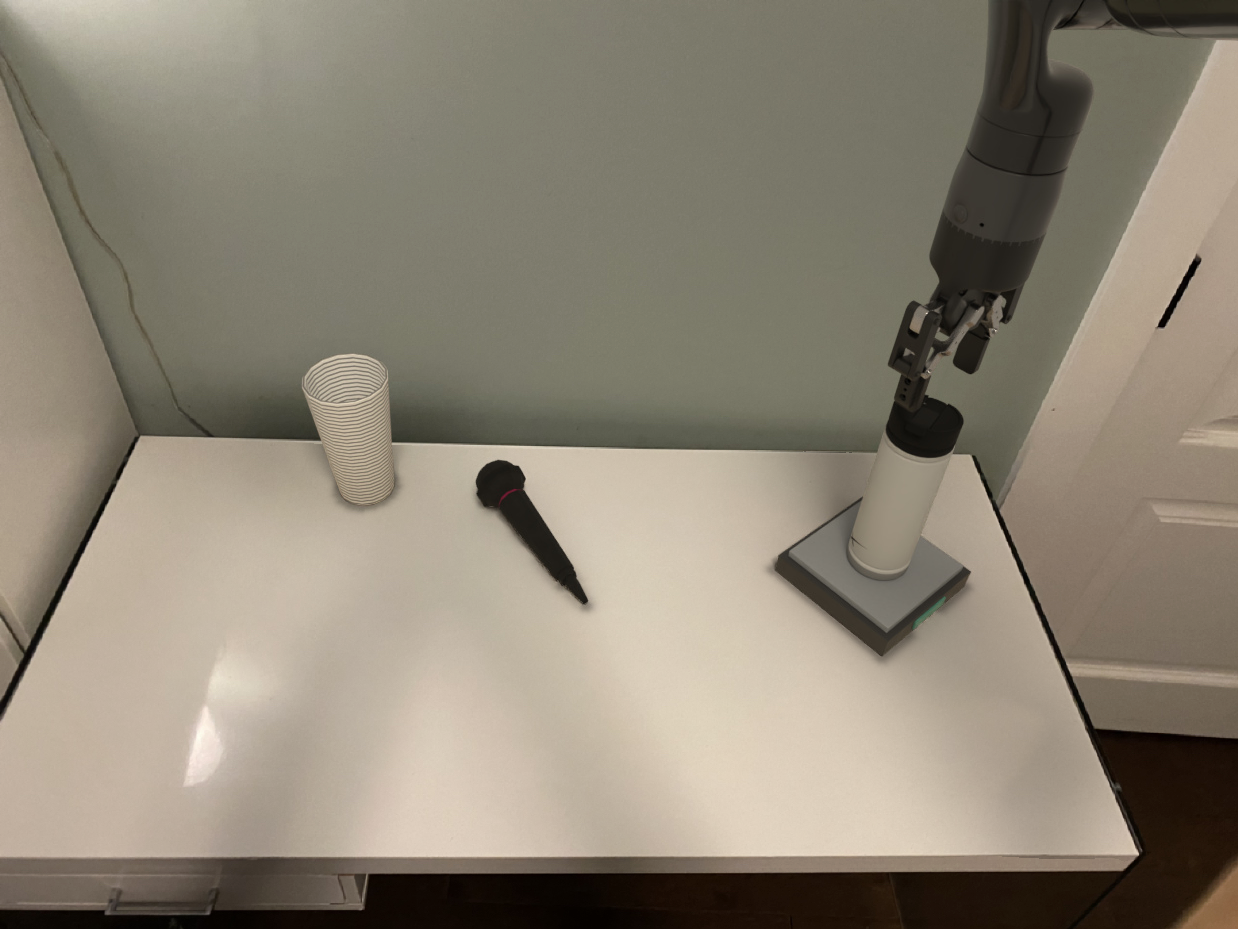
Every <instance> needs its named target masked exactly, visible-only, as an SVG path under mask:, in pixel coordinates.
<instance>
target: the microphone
mask: <svg viewBox="0 0 1238 929" xmlns="http://www.w3.org/2000/svg"><path fill="white" fill-rule="evenodd" d="M526 480H527V478H526V476H525V474H524V471H523V469H522V468H521V467H520V465H516V464H513V463H512V462H511V461H508V460H505V459H504V460H503V459H495V460H492V461H490V462H488V463H485V465H484V466H482V467H481V468H480V470H479V471H478V473H477V476H476V478H475V487H476V489H477V491H476V496H477V497H478V499H479V501H480V502H481V504H482V505H483V506H484V507H491V508H498V510H499V511H500V513H501V514H502V516H503V517H504V518H505V519H506V520H507V522H508V523H509V524H510V525H511V527H512V528H513V529H514V530H515V531H516V533H517V534H518V535H519V536H520V537H521V539H522V540H523V541H524V543H525V544H526V545H527V546H528V547H529V549H530V550H531V551H532V552H533V553H534V555H535V556H536V558H538V560H539V561H540V562H541V564H543V566H544V567H545V569H546V570H547V571H548V572H549V573H550V575H552V577H553V578H554V579H555V581H556V582H557V581H558V582H559V583H560V584H561V586H562V587H563V586H565V587H566V588H567V589H568V591H570V593H572V595H574V596H575V598H577V599H578V601H580V602H581V603H582V604H583V605H586V604H587V603H589V598H588V596H587V594H586V592H585V590H584V589H583V586H582V584H581V582H580V581H579V579H578V575H577V572H576V570H575V567H574V565H573V563H572V562H571V560H570V558H569V557H568V556H567V554H566V552H565V551H564V549H563V548H562V546H561V544H560V543H559V541H558V540H557V538H556V536H555V535H554V533H553V532H552V531H551V529H550V528H549V526H548V525H547V523H546V522H545V520H544V518H543V517H542V515H541V514H540V512H539V511H538V509H537V508H536V506H535V504H534V503H533V502H532V500H531V499H530V497H529V496H528V494H527V492H526V490H525V483H526Z"/></svg>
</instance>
